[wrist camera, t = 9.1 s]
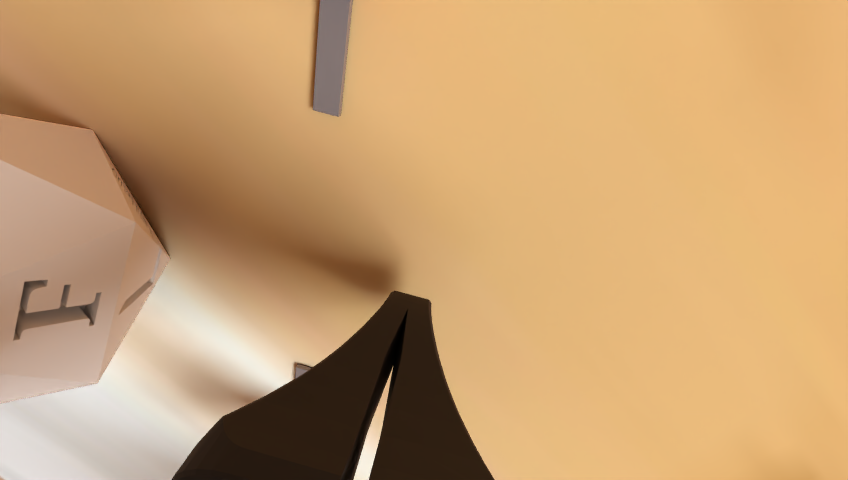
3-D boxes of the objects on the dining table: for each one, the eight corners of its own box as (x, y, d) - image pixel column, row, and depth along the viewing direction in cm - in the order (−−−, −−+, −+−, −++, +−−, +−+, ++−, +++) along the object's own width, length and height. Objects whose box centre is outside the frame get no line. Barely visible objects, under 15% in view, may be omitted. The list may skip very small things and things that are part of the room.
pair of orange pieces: (325, 442, 19) (240, 650, 12) (275, 428, 19) (165, 626, 13) (409, -124, 8) (46, -993, 1) (290, -153, 8) (-612, -1125, 1)
